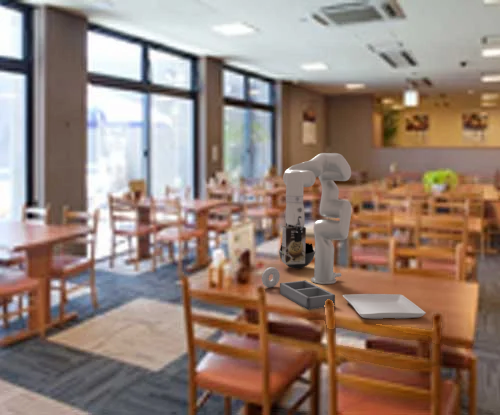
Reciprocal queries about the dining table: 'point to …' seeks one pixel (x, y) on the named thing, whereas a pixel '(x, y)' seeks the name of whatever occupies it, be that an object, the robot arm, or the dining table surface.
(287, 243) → the coffee box
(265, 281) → the donut
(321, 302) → the caddy
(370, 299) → the square plate
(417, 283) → the dining table surface
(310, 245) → the bowl of black rocks
